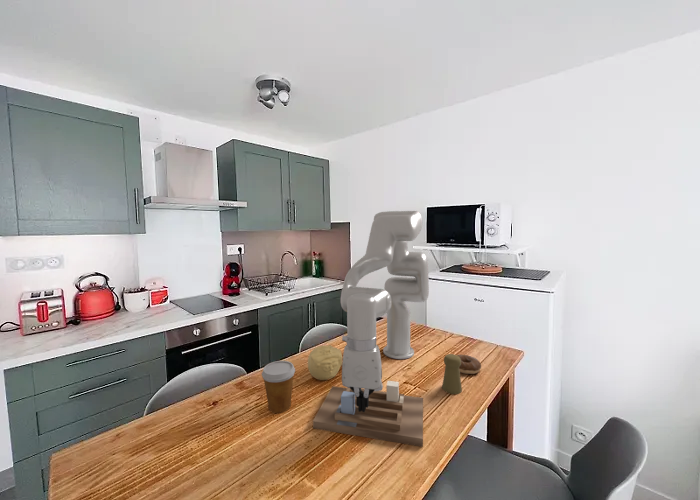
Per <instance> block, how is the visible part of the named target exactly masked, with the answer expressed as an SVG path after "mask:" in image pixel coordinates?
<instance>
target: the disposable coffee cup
mask: <svg viewBox="0 0 700 500" xmlns="http://www.w3.org/2000/svg"><path fill="white" fill-rule="evenodd" d="M295 373H296V368H295V367H294V364H293V363H292V362H291V361H288V360H276V361H272V362H270V363H268V364H266V365H265V366H264V367H263V370H262V371H261V377H262V379H263V382H264V383H263V384H264V388H265V393H266V401H267V406H268V410H269V412H271V413H274V414H281V413H285V412H286V411H288V410H289V409H290V408H291V406H292V405H291V404H292V395H293V394H292V393H293V385H294V375H295Z"/></svg>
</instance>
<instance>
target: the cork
mask: <svg viewBox="0 0 700 500" xmlns="http://www.w3.org/2000/svg"><path fill="white" fill-rule="evenodd" d="M457 355H458V354H453V353H448V354H445V356H444V357H443V364H444V365H445V368H444V374H443V378H442V379H443V380H442V386H441V388H442V390H443V391H444V392H446V393H447V394H451V395H459V394H461V393H462V391H463V388H462V381H461V379H462V378H461V372H460V370H459V367H460V365H461V359H460V358H459V356H457Z"/></svg>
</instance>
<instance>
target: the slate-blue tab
mask: <svg viewBox="0 0 700 500" xmlns="http://www.w3.org/2000/svg"><path fill="white" fill-rule="evenodd" d="M341 413H345V414H352V415H354V414H355V393H354V392H347V391H343V393H342V395H341Z"/></svg>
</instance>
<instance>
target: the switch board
mask: <svg viewBox="0 0 700 500" xmlns="http://www.w3.org/2000/svg"><path fill="white" fill-rule="evenodd" d="M361 390H362V391H363V393H364V390H365V389H364V388H361ZM343 391H347V392H353V391H352V390H351V389H350V388H348V387H344V386H343V387H342V386H341V387H340V386H336V385H335V386H334V385H333V386H331V388H330V389H329V392H328V393H327V394H326V395H327V396H326V397H325V399H324V401H323V402H322V404H321V406H320V408H319V409H318V411H317V413H316V415H315V417H314V418H313V420H312V428H313V429H315V430H321V431H326V432H327V431H328V432H333V433H338V434H339V433H340V434H345V435H352V436H355V437H363V438H369V439H373V440H381V441H387V442H392V443H393V442H394V443H398V444H404V445H405V444H406V445H409V446H410V445H411V446H414V447H415V446H416V447H422V448H423V447H424V397H420V396H411V395H405V393H399V402H391V401H387V391H384V390H381V391H374V392H372V393H371V394H370V395H369V405H368V408H367V407H366V409H365V412H363V411H361V412H359V409H358V406H357V402H356V396H355V414H354V415H352V414H345V413H341V395H342V393H343Z"/></svg>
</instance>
